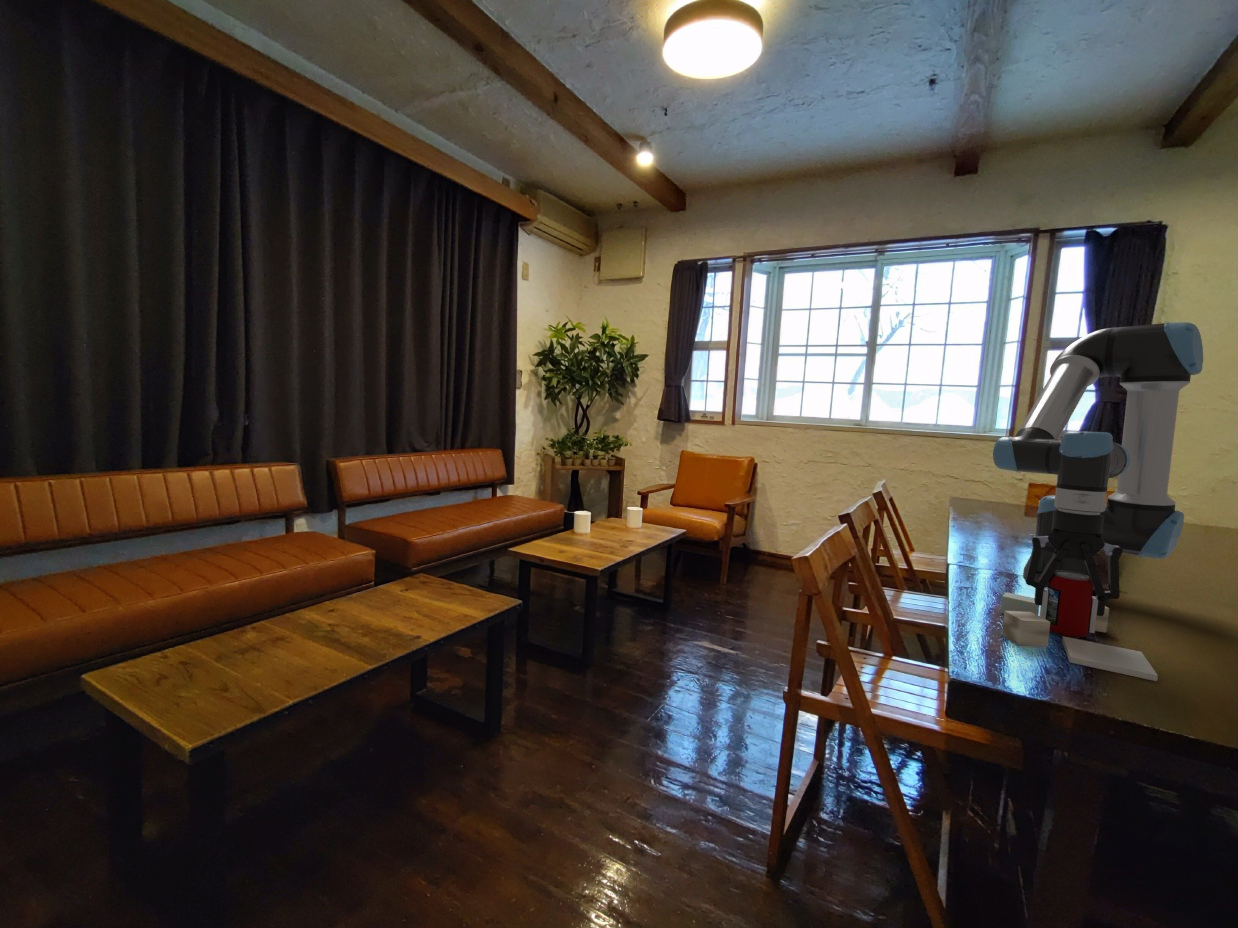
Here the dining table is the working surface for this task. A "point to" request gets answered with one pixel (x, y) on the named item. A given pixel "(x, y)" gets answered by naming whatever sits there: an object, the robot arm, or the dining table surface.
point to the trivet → (1108, 658)
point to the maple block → (1026, 629)
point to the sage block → (1018, 603)
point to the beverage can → (1069, 603)
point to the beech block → (1102, 621)
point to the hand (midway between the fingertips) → (1065, 625)
